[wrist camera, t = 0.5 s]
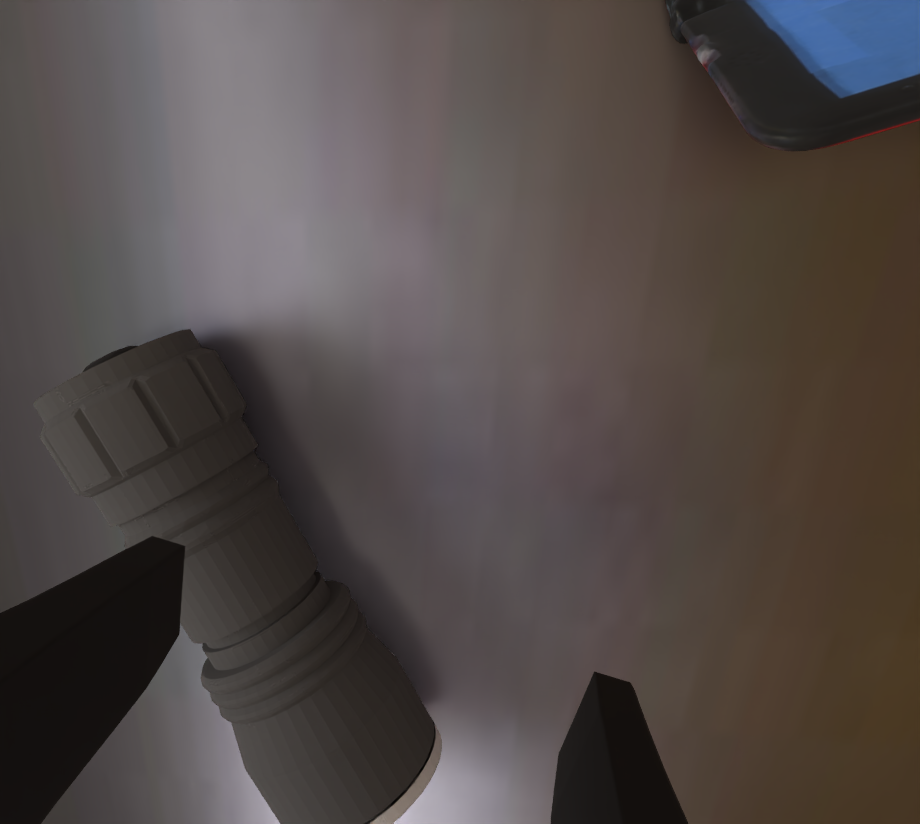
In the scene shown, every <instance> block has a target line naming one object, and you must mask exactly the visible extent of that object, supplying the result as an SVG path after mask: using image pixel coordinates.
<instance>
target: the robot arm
mask: <svg viewBox="0 0 920 824" xmlns="http://www.w3.org/2000/svg"><path fill="white" fill-rule="evenodd" d="M184 558H185V546H184V545H181V544H177V543H174V542H171V541H168V540H164V539H161V538H158V537H154V536H151V537H149V538H147V539H145V540H143V541H141V542H139V543H137V544H135V545H133V546H131V547H129V548H127V549H126V550H124V551H122V552H120V553H118V554H116V555H114V556H112V557H110V558H109V559H107V560H105V561H103V562H101V563H99V564H97V565H95V566H93V567H92V568H90V569H88V570H86V571H84V572H82V573H80V574H78V575H76V576H75V577H73V578H71V579H69V580H67V581H65V582H63V583H61V584H59V585H57V586H55V587H53V588H51V589H49V590H47V591H45V592H43V593H41V594H39V595H37V596H35V597H33V598H31V599H29V600H27V601H25V602H23V603H21V604H19V605H17V606H15V607H13V608H10V609H8V610H6V611H4V612H2V613H0V824H41V823H42V821H43V820H44V819H45V817H46V816H47V815H48V813H49V812H50V811H51V809H52V808H53V806H54V805H55V804H56V803H57V801H58V800H59V799H60V798H61V796H62V795H63V794H64V792H65V791H66V790H67V789H68V787H69V786H70V785H71V784H72V782H73V781H74V780H75V779H76V777H77V776H78V775H79V773H80V772H81V771H82V770H83V768H84V767H85V766H86V765H87V763H88V762H89V761H90V760H91V758H92V757H93V756H94V754H95V753H96V752H97V751H98V749H99V748H100V747H101V746H102V744H103V743H104V742H105V741H106V739H107V738H108V737H109V735H110V734H111V733H112V732H113V730H114V729H115V728H116V727H117V725H118V724H119V723H120V721H121V720H122V719H123V718H124V716H125V715H126V714H127V712H128V711H129V710H130V709H131V707H132V706H133V705H134V703H135V702H136V701H137V700H138V698H139V697H140V696H141V694H142V693H143V692H144V690H145V689H146V688H147V686H148V685H149V683H150V681H151V680H152V678H153V677H154V675H155V674H156V672H157V670H158V669H159V667H160V666H161V664H162V662H163V661H164V659H165V657H166V656H167V654H168V652H169V651H170V649H171V647H172V646H173V644H174V642H175V640H176V639H177V637H178V635H179V630H180V616H181V601H182V587H183V573H184ZM551 824H688V822H687V819H686V817H685V815H684V813H683V810H682V808H681V806H680V804H679V801H678V799H677V797H676V794H675V792H674V790H673V788H672V785H671V783H670V781H669V778H668V776H667V774H666V771H665V769H664V766H663V764H662V762H661V759H660V756H659V754H658V751H657V749H656V746H655V744H654V741H653V739H652V736H651V734H650V731H649V728H648V726H647V723H646V720H645V718H644V715H643V712H642V709H641V707H640V704H639V701H638V698H637V696H636V693H635V690H634V688H633V686H632V685H631V683H630V682H627V681H623V680H620V679H617V678H614V677H610V676H607V675H604V674H601V673H597V672H594V674H593V676H592V678H591V681H590V683H589V685H588V688H587V690H586V692H585V694H584V697H583V699H582V701H581V704H580V706H579V708H578V711H577V713H576V715H575V717H574V720H573V722H572V724H571V727H570V729H569V731H568V734H567V736H566V738H565V740H564V743H563V745H562V747H561V750H560V752H559V755H558V763H557V771H556V779H555V787H554V795H553V804H552V813H551Z"/></svg>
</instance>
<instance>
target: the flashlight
mask: <svg viewBox="0 0 920 824" xmlns="http://www.w3.org/2000/svg"><path fill="white" fill-rule="evenodd" d="M33 405H34V407H35V409H36V410H37V412H38V413H39V415H40V417H41V418H42V420H43V421H44V423H45V425H44V427H43V429H42V432H41V435H40V438H41V440H42V441H43V443H44V445H45V446H46V448H47V449H48V451H49V452H50V454H51V456H52V457H53V459H54V460H55V462H56V463H57V465H58V467H59V468H60V470H61V471H62V473H63V474H64V476H65V478H66V479H67V481H68V482H69V484H70V485H71V487H72V488H73V490H74V492H75V493H76V495H79V496H84V497H92V499H93V500H94V502H95V503H96V505H97V506H98V508H99V510H100V511H101V513H102V514H103V516H104V517H105V519H106V520H107V522H108V524H109V525H110V527H114V526H117V525H119V527H120V528H121V530H122V531H123V533H124V535H125V545H124V546H125V547H126V548H129V547H131V546H133V545H135V544H137V543H139V542H141V541H143V540H145V539H147V538H149V537H151V536H154V537H158V538H161V539H164V540H168V541H171V542H174V543H177V544H181V545H184V546H185V558H184V573H183V587H182V601H181V616H180V623H181V625H182V626H183V628H184V629H185V631H186V633H187V634H188V636H189V637H190V639H191V640H192V642H194V643H198V644H200V643H203V647H202V648H203V651H204V652H205V654H206V656H207V657H208V658H207V660H206V661H205V663H204V666H203V669H202V674H201V682H202V686H203V687H204V688H205V689H206V690H208V691H209V692H210V695H211V699H212V701H213V702H214V703H215V704H216V705H218V706H219V710H220V713H221V716H222V717H223V718H225V719H226V720H227V721H230V722H231V723H232V726H233V730H234V733H235V736H236V740H237V743H238V746H239V750H240V753H241V756H242V760H243V763H244V766H245V769H246V771H247V772H248V774H249V776H250V777H251V779H252V780H253V782H254V783H255V785H256V786H257V788H258V789H259V791H260V793H261V794H262V796H263V797H264V799H265V800H266V802H267V803H268V805H269V807H270V808H271V810H272V811H273V813H274V814H275V816H276V817H277V819H278V821H279V822H280V824H392V823H394V822H395V821H396V820H397V819H398V818H400V817H401V816H402V815H403V814H404V813H405V811H406V810H407V809H408V808H409V807H410V806H411V805H412V804H413V803H414V802H415V800H416V799H417V798H418V797H419V796H420V795H421V794H422V792H423V791H424V789H425V788H426V786H427V785H428V783H429V782H430V780H431V778H432V776H433V774H434V772H435V770H436V768H437V765H438V763H439V760H440V755H441V750H442V740H441V735H440V733H439V731H438V729H437V727H436V725H435V724H434V722H433V720H432V718H431V717H430V715H429V713H428V712H427V710H426V708H425V706H424V705H423V703H422V701H421V700H420V698H419V696H418V694H417V693H416V691H415V689H414V687H413V686H412V684H411V682H410V680H409V679H408V677H407V675H406V673H405V672H404V670H403V668H402V666H401V665H400V663H399V661H398V659H397V658H396V656H395V655H394V654H393V653H392V652H391V651H390V650H389V649H388V648H387V647H386V646H385V645H384V644H383V643H382V642H381V641H380V640H379V639H378V638H377V637H376V636H375V635H374V634H373V633H372V632H371V631H370V630H369V629H367V628H366V619H365V617H364V615H363V614H362V613H361V612H359V611H358V605H357V603H356V601H355V600H354V599H352V598H351V597H350V591H349V589H348V587H347V586H345V585H344V584H342V583H340V582H337V581H324V579H323V577H322V576H321V574H320V573H319V572H317V571H315V570H316V568H317V565H318V561H317V559H316V557H315V556H314V554H313V552H312V550H311V549H310V547H309V545H308V544H307V542H306V540H305V538H304V537H303V535H302V533H301V532H300V530H299V528H298V526H297V525H296V523H295V521H294V519H293V518H292V516H291V514H290V513H289V511H288V509H287V507H286V506H285V504H284V502H283V500H282V499H281V497H280V495H279V485H278V482H277V480H276V479H274V478H272V477H271V476H269V475H268V472H269V469H268V464H266V463H264V462H262V461H259V459H258V458H257V456H256V454H255V452H254V451H253V450H254V449H255V448H256V447H257V446H258V445H257V443H256V441H255V439H254V438H253V436H252V434H251V432H250V431H249V429H248V427H247V426H246V424H245V422H244V420H243V419H242V415H243V413H244V411H245V408H246V405H247V404H246V402H245V401H244V399H243V397H242V395H241V394H240V392H239V390H238V389H237V387H236V385H235V383H234V382H233V380H232V378H231V376H230V375H229V373H228V371H227V370H226V368H225V366H224V364H223V363H222V361H221V359H220V357H219V356H218V354H217V352H216V351H214V350H211V349H207V348H201V346H200V344H199V343H198V341H197V339H196V338H195V336H194V334H193V333H192V331H191V330H190V329H187V330H182V331H178V332H174V333H172V334H169V335H166V336H163V337H161V338H158V339H155V340H153V341H150V342H148V343H145V344H143V345H140V346H128V347H125V348H122V349H119V350H117V351H114V352H111V353H109V354H107V355H106V356H104V357H102V358H100V359H98V360H96V361H94V362H92V363H91V364H90V365H88V366H87V367H86V368H85V369H84V371H83V373H81V374H79V375H77V376H75V377H73V378H71V379H69V380H67V381H66V382H64V383H62V384H61V385H59V386H57V387H55V388H54V389H52V390H50V391H49V392H47V393H45V394H44V395H42V396H41V397H40V398H38V399H37V400H36V401H35V402H34V403H33Z"/></svg>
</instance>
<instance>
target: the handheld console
mask: <svg viewBox="0 0 920 824" xmlns="http://www.w3.org/2000/svg"><path fill="white" fill-rule="evenodd" d="M665 2H666V7H667V11H668V12H669V14H670V17H671V18H670V29H671V32H672V35H673V37H674V38H675V39H676V40H677V41H678V42H680V43H683V44H685V43H688V44H689V45H690V47H691V49H692V50H693V52H694V53H695V54H696V56H697V57H698V60H699V61H700V62H701V64H702V65H703V66H704V68H705V69H706V70H707V72H708V74H709V75H710V77H711V78H712V80H713V81H714V83H715V84H716V86H717V87H718V89H719V90H720V92H721V94H722V95H723V97H724V98H725V100H726V101H727V103H728V104H729V106H730V108H731V109H732V111H733V112H734V114H735V115H736V117H737V118H738V120H739V121H740V123H741V125H742V126H743V128H744V129H745V131H746V132H747V134H748V135H749V136H750V137H751V138H752V139H753V140H755V141H757V142H759V143H760V144H762V145H764V146H766V147H768V148H772V149H777V150H784V151H806V150H813V149H820V148H826V147H830V146H834V145H838V144H842V143H845V142H849V141H852V140H856V139H859V138H862V137H866V136H869V135H872V134H876V133H879V132H883V131H886V130H889V129H893V128H896V127H899V126H903V125H906V124H909V123H913V122H916V121H920V0H665Z"/></svg>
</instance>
